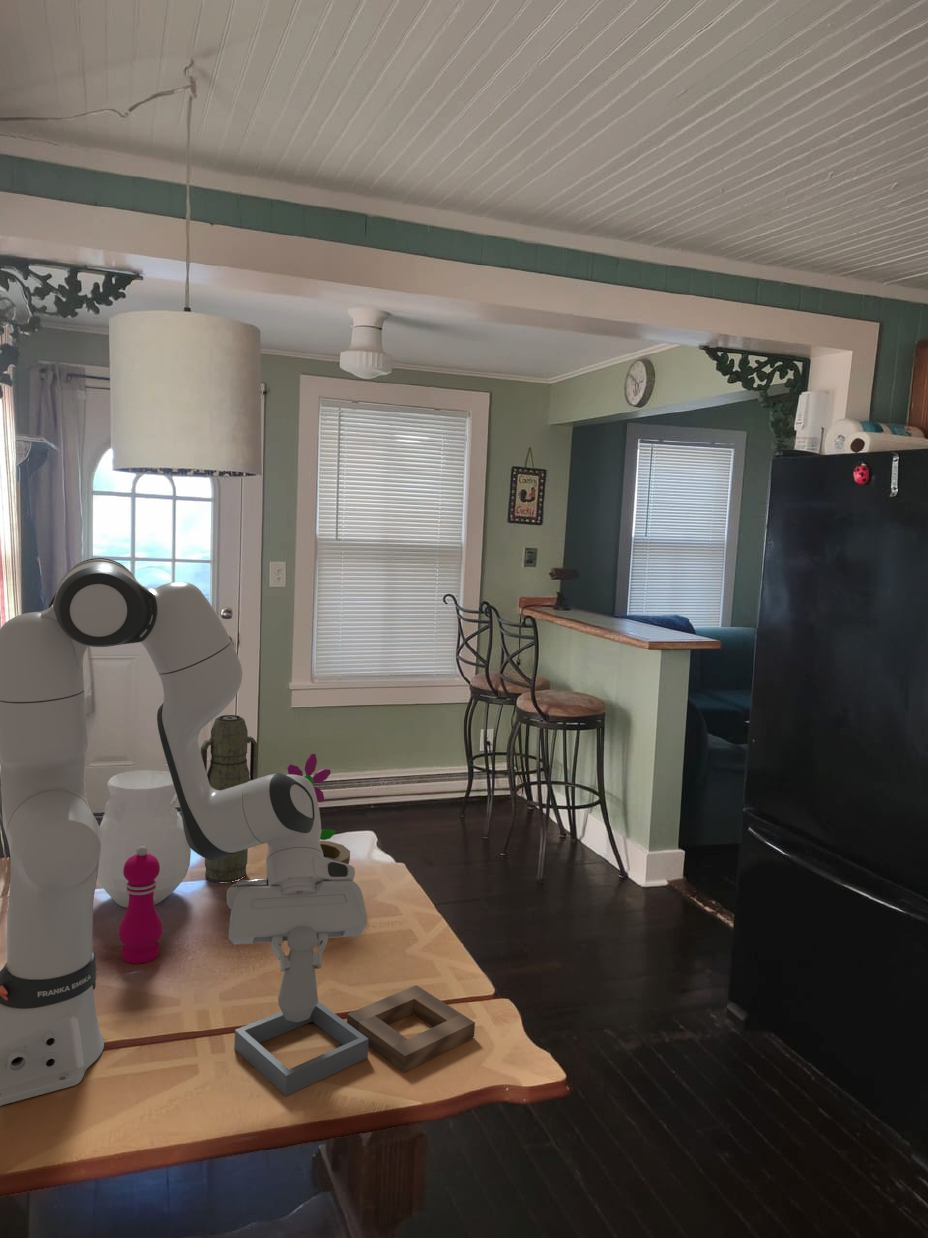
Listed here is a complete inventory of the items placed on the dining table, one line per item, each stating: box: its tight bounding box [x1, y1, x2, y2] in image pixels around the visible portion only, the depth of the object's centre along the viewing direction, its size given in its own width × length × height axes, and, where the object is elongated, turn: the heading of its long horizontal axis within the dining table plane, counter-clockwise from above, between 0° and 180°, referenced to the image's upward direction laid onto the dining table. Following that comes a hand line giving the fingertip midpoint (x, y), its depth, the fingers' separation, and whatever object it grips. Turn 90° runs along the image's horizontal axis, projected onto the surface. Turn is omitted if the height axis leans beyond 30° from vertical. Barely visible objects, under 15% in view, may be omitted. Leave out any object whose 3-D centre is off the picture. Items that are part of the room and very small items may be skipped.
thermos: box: [200, 714, 258, 884], centre depth 192 cm, size 9×12×35 cm
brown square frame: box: [346, 984, 476, 1073], centre depth 138 cm, size 14×14×2 cm
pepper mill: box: [118, 846, 163, 965], centre depth 157 cm, size 7×7×20 cm
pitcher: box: [97, 769, 192, 909], centre depth 179 cm, size 19×18×25 cm
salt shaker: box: [277, 926, 319, 1022], centre depth 130 cm, size 6×6×13 cm
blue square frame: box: [233, 1000, 369, 1097], centre depth 132 cm, size 14×14×3 cm
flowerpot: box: [287, 753, 351, 865], centre depth 182 cm, size 14×14×30 cm
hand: (301, 969), depth 129 cm, fingers closed on salt shaker, 3 cm apart
